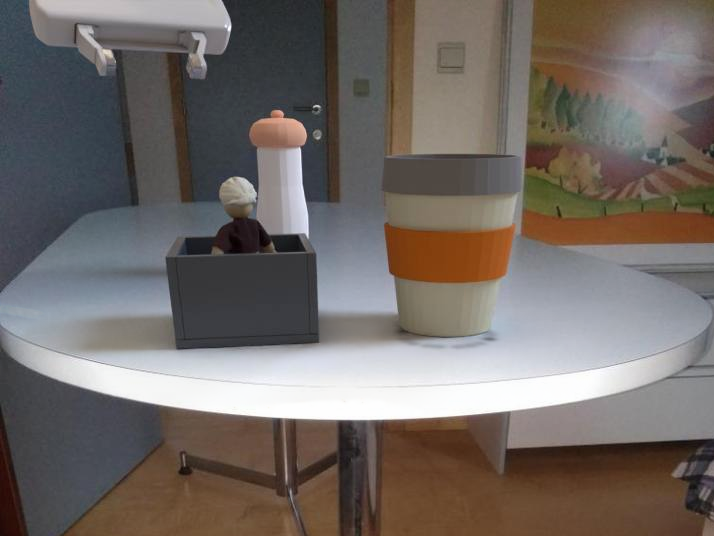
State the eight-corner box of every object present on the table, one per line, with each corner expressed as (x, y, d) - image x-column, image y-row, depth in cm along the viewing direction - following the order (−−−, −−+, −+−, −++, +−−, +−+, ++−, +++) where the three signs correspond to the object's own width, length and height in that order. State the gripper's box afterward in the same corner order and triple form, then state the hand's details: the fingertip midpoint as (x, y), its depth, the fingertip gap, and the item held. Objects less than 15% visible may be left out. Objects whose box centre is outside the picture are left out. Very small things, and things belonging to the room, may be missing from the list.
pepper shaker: (246, 272, 96) (234, 110, 88) (290, 265, 101) (282, 111, 92) (279, 279, 91) (270, 109, 83) (323, 272, 96) (319, 110, 87)
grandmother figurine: (255, 309, 73) (246, 173, 67) (286, 313, 71) (279, 174, 66) (204, 326, 67) (189, 178, 61) (236, 331, 65) (223, 180, 60)
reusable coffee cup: (420, 305, 78) (424, 153, 71) (530, 319, 72) (546, 154, 65) (355, 330, 69) (353, 157, 62) (475, 349, 62) (488, 160, 56)
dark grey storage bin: (176, 349, 63) (165, 257, 60) (186, 315, 74) (177, 236, 71) (319, 342, 65) (316, 252, 61) (308, 310, 76) (305, 233, 73)
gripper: (7, -72, 69) (48, 38, 66) (210, -47, 79) (253, 50, 76) (10, -9, 74) (48, 95, 71) (199, 6, 84) (239, 99, 81)
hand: (155, 72), depth 74 cm, fingers open, 8 cm apart
